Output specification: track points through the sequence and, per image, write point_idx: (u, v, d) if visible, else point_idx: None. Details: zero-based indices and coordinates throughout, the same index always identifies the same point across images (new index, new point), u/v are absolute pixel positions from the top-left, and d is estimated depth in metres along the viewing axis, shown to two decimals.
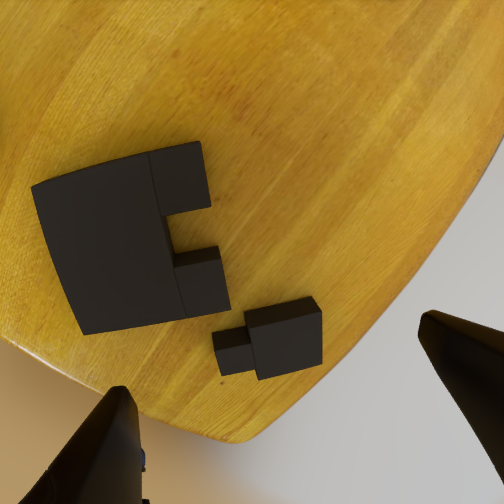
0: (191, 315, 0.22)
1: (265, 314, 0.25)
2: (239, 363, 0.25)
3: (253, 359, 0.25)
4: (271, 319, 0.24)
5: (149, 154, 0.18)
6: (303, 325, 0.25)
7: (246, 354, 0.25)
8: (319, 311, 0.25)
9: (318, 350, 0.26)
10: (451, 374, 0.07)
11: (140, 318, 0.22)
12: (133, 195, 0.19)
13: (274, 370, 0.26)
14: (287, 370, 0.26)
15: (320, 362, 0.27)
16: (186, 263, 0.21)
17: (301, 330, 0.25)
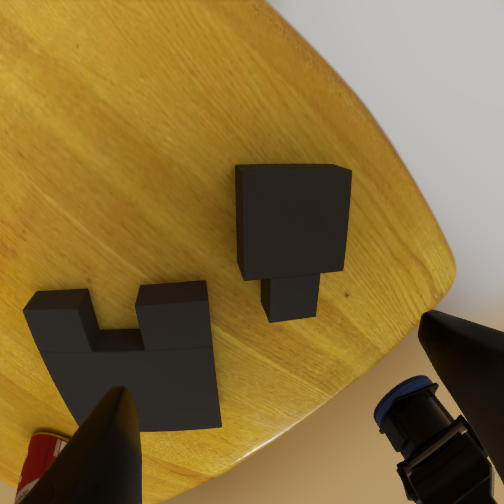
0: (209, 342, 0.18)
1: (238, 244, 0.18)
2: (301, 294, 0.18)
3: (300, 276, 0.18)
4: (241, 244, 0.17)
5: (40, 350, 0.17)
6: (261, 202, 0.16)
7: (289, 285, 0.18)
8: (242, 174, 0.15)
9: (320, 176, 0.16)
10: (451, 374, 0.07)
11: (205, 385, 0.20)
12: (75, 368, 0.17)
13: (332, 248, 0.18)
14: (341, 228, 0.17)
15: (347, 173, 0.16)
16: (142, 336, 0.18)
17: (269, 205, 0.16)
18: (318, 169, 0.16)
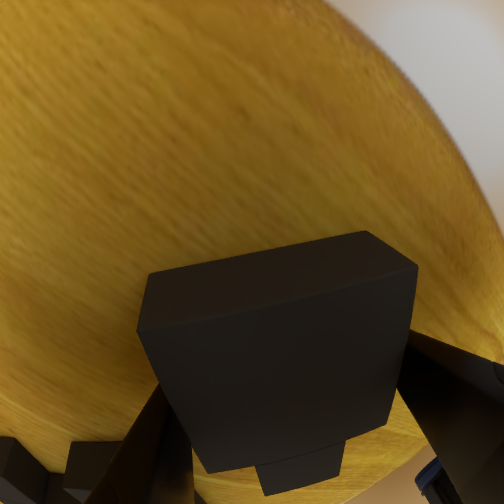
0: None
1: None
2: (313, 467, 0.09)
3: (310, 453, 0.08)
4: None
5: None
6: (203, 382, 0.06)
7: (290, 465, 0.08)
8: (140, 335, 0.06)
9: (346, 302, 0.06)
10: (412, 394, 0.07)
11: None
12: None
13: (369, 407, 0.08)
14: (388, 377, 0.07)
15: (408, 276, 0.06)
16: None
17: (223, 384, 0.06)
18: (339, 284, 0.06)
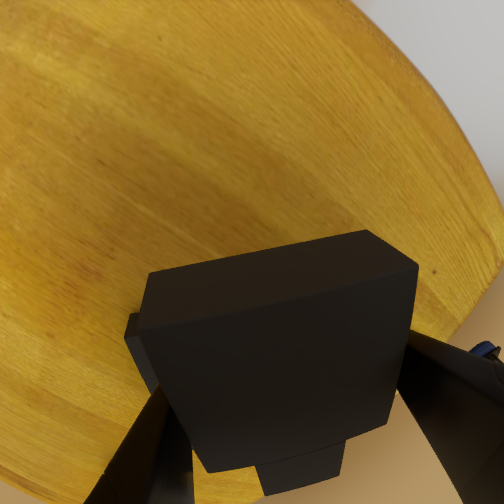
0: None
1: None
2: (313, 467, 0.09)
3: (310, 453, 0.08)
4: None
5: (144, 378, 0.17)
6: (204, 382, 0.06)
7: (290, 465, 0.08)
8: (140, 334, 0.06)
9: (346, 301, 0.06)
10: (412, 394, 0.07)
11: None
12: None
13: (369, 407, 0.08)
14: (389, 376, 0.07)
15: (409, 275, 0.06)
16: None
17: (223, 383, 0.06)
18: (339, 283, 0.06)
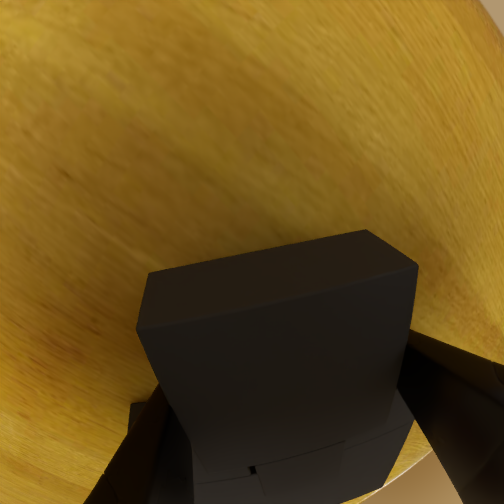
0: (413, 417, 0.11)
1: None
2: (312, 466, 0.09)
3: (310, 453, 0.08)
4: None
5: None
6: (203, 381, 0.06)
7: (290, 465, 0.08)
8: (139, 334, 0.06)
9: (346, 300, 0.06)
10: (412, 394, 0.07)
11: (388, 459, 0.13)
12: (218, 493, 0.11)
13: (369, 407, 0.08)
14: (388, 376, 0.07)
15: (408, 275, 0.06)
16: None
17: (223, 383, 0.06)
18: (339, 283, 0.06)
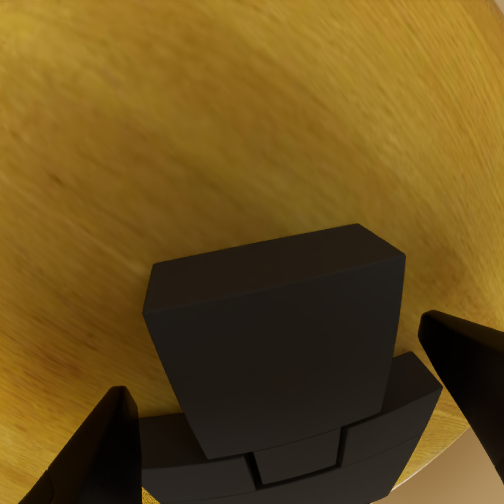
0: (422, 429, 0.11)
1: None
2: (309, 453, 0.09)
3: (306, 439, 0.09)
4: None
5: (160, 501, 0.09)
6: (204, 364, 0.07)
7: (287, 451, 0.09)
8: (145, 318, 0.06)
9: (337, 287, 0.07)
10: (451, 374, 0.07)
11: (395, 470, 0.12)
12: None
13: (363, 393, 0.08)
14: (380, 363, 0.08)
15: (396, 264, 0.07)
16: (340, 454, 0.10)
17: (223, 365, 0.07)
18: (330, 271, 0.07)
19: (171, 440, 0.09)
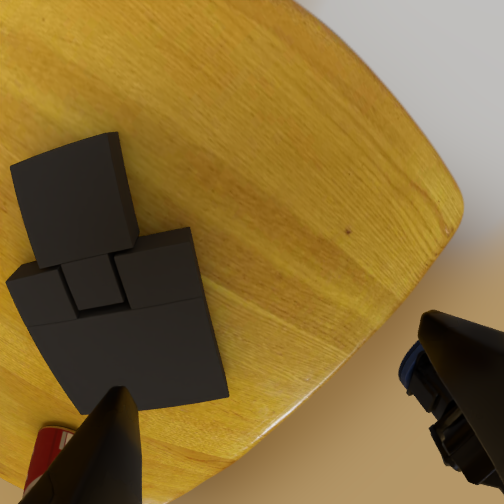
0: (198, 291, 0.17)
1: None
2: (96, 278, 0.16)
3: (87, 259, 0.15)
4: None
5: (26, 325, 0.16)
6: (29, 190, 0.13)
7: (79, 270, 0.15)
8: (11, 169, 0.12)
9: (74, 150, 0.13)
10: (451, 374, 0.07)
11: (202, 346, 0.18)
12: (63, 341, 0.17)
13: (109, 223, 0.15)
14: (112, 199, 0.14)
15: (102, 138, 0.13)
16: (127, 293, 0.16)
17: (35, 191, 0.13)
18: (72, 143, 0.13)
19: (32, 268, 0.16)
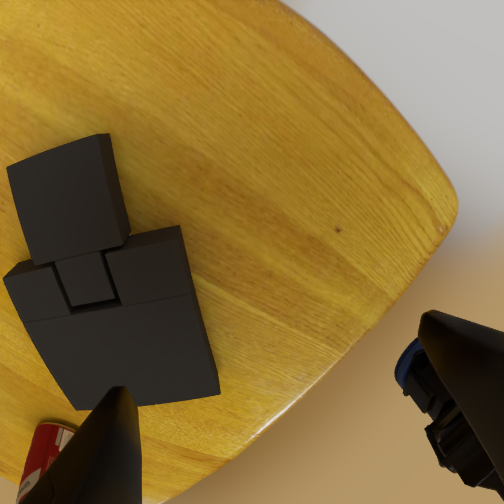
0: (187, 288, 0.17)
1: None
2: (88, 274, 0.16)
3: (80, 256, 0.15)
4: None
5: (22, 321, 0.16)
6: (24, 190, 0.13)
7: (72, 266, 0.15)
8: (7, 170, 0.13)
9: (66, 151, 0.13)
10: (451, 374, 0.07)
11: (192, 342, 0.19)
12: (58, 337, 0.17)
13: (100, 221, 0.15)
14: (102, 198, 0.15)
15: (92, 139, 0.13)
16: (118, 290, 0.17)
17: (30, 191, 0.13)
18: (64, 144, 0.13)
19: (28, 265, 0.16)
